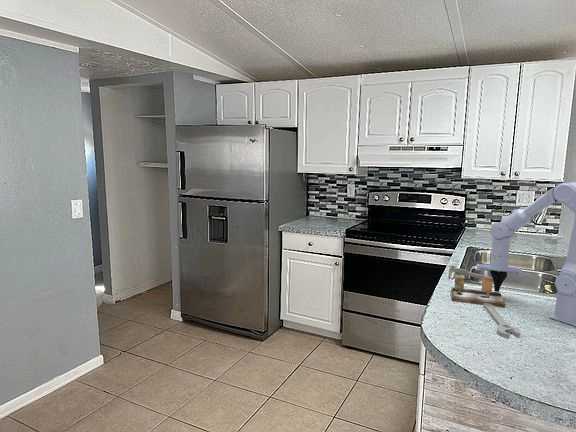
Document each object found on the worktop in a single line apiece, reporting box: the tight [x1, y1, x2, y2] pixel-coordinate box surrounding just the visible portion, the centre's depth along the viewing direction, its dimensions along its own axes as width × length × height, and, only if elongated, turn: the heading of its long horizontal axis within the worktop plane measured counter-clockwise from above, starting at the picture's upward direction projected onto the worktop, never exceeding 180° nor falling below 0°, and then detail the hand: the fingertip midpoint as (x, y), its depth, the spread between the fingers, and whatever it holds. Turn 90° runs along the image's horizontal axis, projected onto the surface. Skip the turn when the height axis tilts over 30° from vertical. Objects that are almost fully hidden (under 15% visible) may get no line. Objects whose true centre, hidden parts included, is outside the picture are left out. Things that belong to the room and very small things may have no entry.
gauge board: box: [450, 274, 506, 308], centre depth 148 cm, size 17×12×7 cm
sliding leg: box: [481, 278, 494, 297], centre depth 147 cm, size 3×8×5 cm, turn 159°
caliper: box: [448, 264, 493, 281], centre depth 170 cm, size 20×1×6 cm, turn 76°
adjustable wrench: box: [483, 303, 521, 339], centre depth 129 cm, size 25×6×2 cm, turn 165°
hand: (496, 290), depth 149 cm, fingers closed
